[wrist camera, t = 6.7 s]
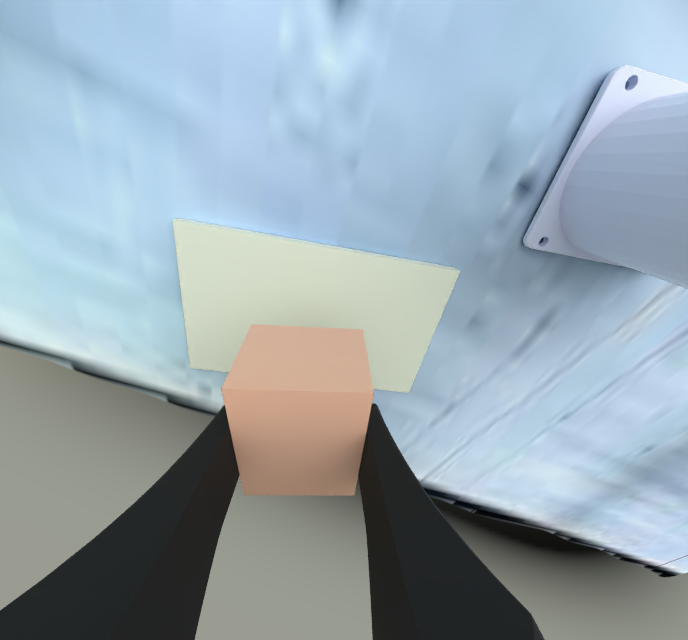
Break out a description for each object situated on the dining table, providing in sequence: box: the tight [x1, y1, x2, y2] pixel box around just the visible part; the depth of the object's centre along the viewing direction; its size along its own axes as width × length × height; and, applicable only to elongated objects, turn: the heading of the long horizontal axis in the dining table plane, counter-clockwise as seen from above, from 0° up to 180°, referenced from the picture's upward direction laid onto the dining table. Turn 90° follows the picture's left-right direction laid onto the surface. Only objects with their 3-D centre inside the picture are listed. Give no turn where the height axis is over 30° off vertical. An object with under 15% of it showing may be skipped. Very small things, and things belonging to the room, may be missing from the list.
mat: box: [173, 218, 460, 393], centre depth 18 cm, size 16×10×1 cm, turn 79°
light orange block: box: [221, 324, 374, 495], centre depth 11 cm, size 6×4×4 cm
